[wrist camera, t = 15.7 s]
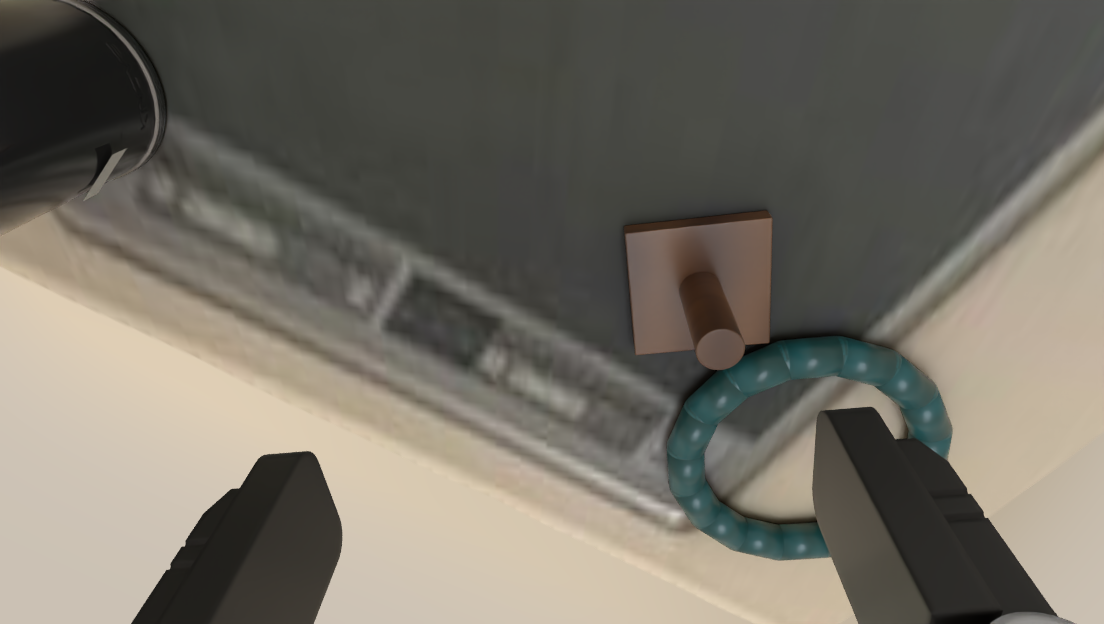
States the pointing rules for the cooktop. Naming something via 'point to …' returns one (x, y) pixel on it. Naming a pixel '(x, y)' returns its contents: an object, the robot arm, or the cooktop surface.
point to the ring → (766, 372)
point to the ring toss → (701, 285)
